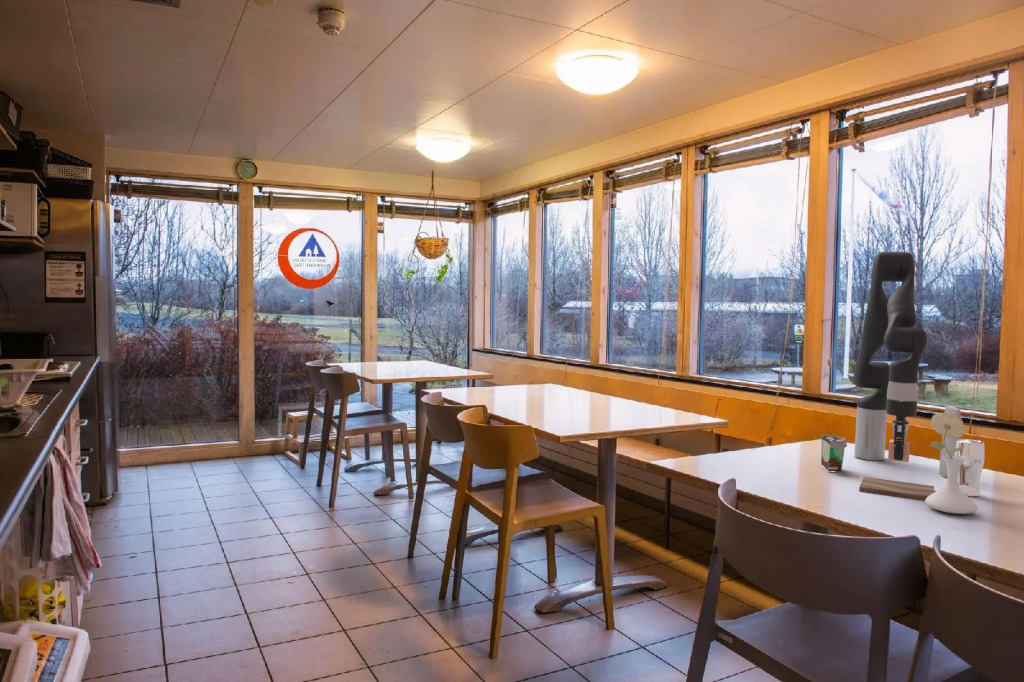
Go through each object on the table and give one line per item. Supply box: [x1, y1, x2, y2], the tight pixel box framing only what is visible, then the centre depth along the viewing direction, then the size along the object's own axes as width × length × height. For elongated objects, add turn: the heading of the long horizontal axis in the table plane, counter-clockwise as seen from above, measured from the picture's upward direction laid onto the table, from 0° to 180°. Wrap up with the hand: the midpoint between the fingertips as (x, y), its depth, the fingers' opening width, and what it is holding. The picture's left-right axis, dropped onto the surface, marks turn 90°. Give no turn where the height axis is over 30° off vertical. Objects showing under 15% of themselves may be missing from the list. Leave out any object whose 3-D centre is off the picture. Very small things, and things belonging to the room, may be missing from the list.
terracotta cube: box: [887, 439, 911, 463], centre depth 197 cm, size 5×5×5 cm
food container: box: [820, 433, 848, 472], centre depth 222 cm, size 12×6×10 cm, turn 168°
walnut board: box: [858, 476, 935, 501], centre depth 198 cm, size 14×18×1 cm
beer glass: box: [955, 438, 986, 497], centre depth 195 cm, size 7×7×15 cm
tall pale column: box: [938, 405, 963, 478], centre depth 215 cm, size 11×4×22 cm, turn 174°
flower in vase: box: [924, 412, 978, 515], centre depth 179 cm, size 13×11×25 cm
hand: (898, 457), depth 197 cm, fingers closed on terracotta cube, 5 cm apart
